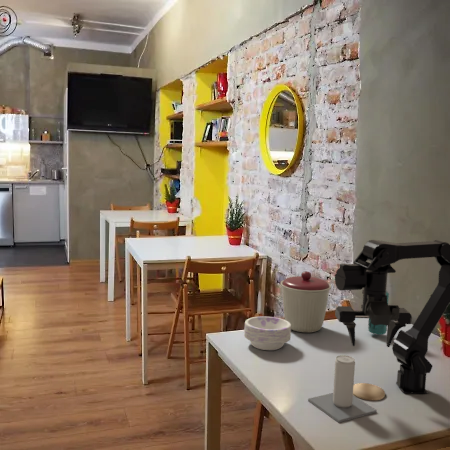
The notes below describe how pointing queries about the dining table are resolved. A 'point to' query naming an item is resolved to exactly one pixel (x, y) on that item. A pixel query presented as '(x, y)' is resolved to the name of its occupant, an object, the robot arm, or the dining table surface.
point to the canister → (305, 302)
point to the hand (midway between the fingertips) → (370, 346)
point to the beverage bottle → (378, 328)
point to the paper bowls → (267, 332)
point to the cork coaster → (368, 391)
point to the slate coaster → (340, 413)
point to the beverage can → (343, 381)
